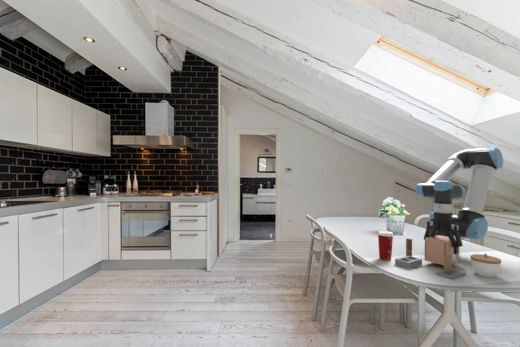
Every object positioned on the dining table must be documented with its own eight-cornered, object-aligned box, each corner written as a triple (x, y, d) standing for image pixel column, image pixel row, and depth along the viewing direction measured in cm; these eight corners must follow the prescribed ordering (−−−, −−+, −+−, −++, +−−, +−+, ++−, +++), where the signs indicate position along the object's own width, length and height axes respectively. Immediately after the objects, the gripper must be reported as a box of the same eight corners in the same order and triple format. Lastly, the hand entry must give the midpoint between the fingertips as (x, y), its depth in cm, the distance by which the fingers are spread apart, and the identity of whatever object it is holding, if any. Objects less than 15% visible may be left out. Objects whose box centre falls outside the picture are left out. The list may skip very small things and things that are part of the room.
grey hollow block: (408, 261, 144) (408, 255, 144) (421, 265, 138) (422, 259, 138) (395, 264, 138) (395, 258, 138) (408, 269, 132) (408, 262, 132)
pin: (407, 256, 152) (408, 238, 152) (412, 258, 150) (413, 239, 150) (404, 257, 150) (405, 238, 150) (409, 258, 148) (410, 239, 148)
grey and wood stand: (448, 270, 131) (448, 250, 131) (465, 274, 125) (465, 254, 125) (435, 274, 125) (436, 254, 125) (453, 279, 120) (453, 258, 119)
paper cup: (395, 261, 143) (395, 234, 143) (378, 260, 145) (379, 233, 144) (391, 257, 151) (391, 231, 151) (375, 256, 152) (376, 230, 152)
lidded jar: (507, 280, 119) (507, 258, 119) (478, 278, 121) (479, 256, 121) (491, 271, 130) (491, 251, 130) (465, 270, 131) (465, 250, 131)
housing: (438, 256, 146) (439, 235, 146) (459, 261, 138) (459, 238, 138) (424, 260, 139) (424, 237, 139) (445, 265, 131) (445, 242, 131)
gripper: (416, 209, 146) (415, 253, 146) (464, 215, 127) (463, 265, 127) (424, 209, 150) (423, 251, 150) (472, 214, 131) (471, 262, 131)
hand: (441, 257), depth 139 cm, fingers closed on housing, 9 cm apart
